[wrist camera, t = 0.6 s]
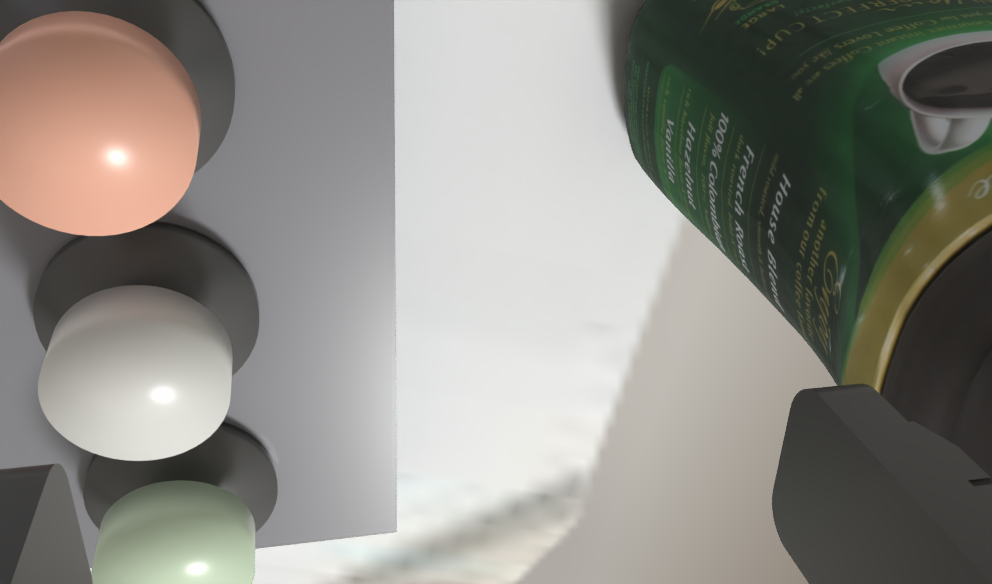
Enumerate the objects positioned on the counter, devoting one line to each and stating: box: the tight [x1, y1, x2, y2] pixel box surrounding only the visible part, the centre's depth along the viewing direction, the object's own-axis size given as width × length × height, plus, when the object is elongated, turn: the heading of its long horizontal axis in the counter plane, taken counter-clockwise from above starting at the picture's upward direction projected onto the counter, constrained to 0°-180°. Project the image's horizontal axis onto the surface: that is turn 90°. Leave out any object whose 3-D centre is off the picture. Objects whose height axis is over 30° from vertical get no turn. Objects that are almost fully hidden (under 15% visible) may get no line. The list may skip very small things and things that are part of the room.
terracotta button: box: [0, 11, 201, 236], centre depth 20 cm, size 5×5×2 cm
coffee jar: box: [624, 0, 992, 483], centre depth 22 cm, size 10×8×19 cm
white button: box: [38, 285, 233, 461], centre depth 24 cm, size 5×5×2 cm
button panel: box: [0, 0, 397, 568], centre depth 27 cm, size 21×14×4 cm, turn 177°
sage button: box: [91, 480, 255, 584], centre depth 28 cm, size 5×5×2 cm
